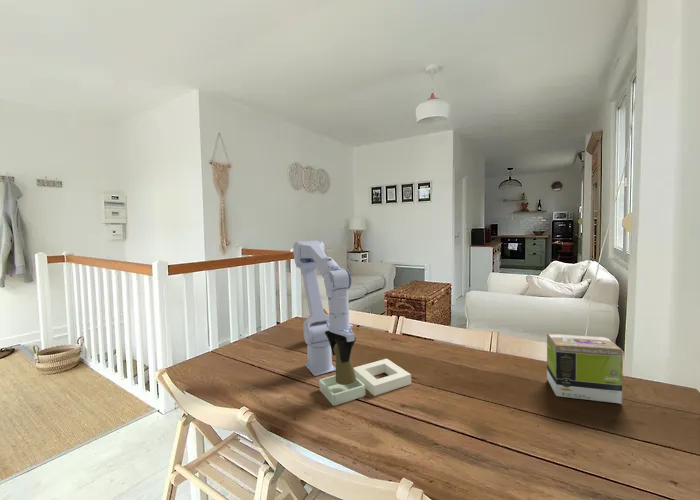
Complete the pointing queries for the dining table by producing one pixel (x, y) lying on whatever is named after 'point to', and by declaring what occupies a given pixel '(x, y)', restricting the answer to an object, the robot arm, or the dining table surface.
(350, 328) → the robot arm
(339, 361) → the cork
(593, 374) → the tea box
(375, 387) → the holder
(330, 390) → the tray
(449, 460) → the dining table surface
